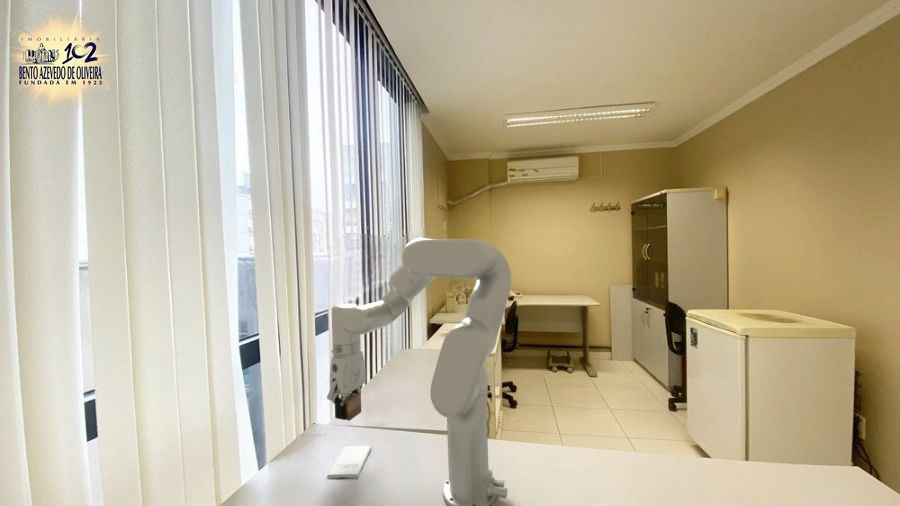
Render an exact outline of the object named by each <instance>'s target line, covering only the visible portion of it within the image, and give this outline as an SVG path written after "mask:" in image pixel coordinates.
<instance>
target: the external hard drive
mask: <svg viewBox="0 0 900 506" xmlns="http://www.w3.org/2000/svg"><path fill="white" fill-rule="evenodd" d="M371 450H372V446H371V445H347V446H343V448H342V450H341V452H340V453H339V455H338V457H337V458H336V460H335V462H334V463H333V465H332V467H331V468H330V470H329V471H328V473H327V476H326V479H340V478H345V479H350V478H354V479H355V478H357V479H358V478H359V476H360V475H361V472H362V470H363V468H364V466H365V463H366V461H367V459H368V457H369V455H370V454H371Z"/></svg>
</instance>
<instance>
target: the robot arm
mask: <svg viewBox="0 0 900 506" xmlns="http://www.w3.org/2000/svg"><path fill="white" fill-rule="evenodd" d="M401 261H402V264H400V265H399V266H398V267H397V268H396V269H395V270H394V271H393V272H392V273H391V274H390V276H389V282H390V286H391V287H392V288H391V289H390V290H389V291H388V292H386V294H384V296H383V297H382V298H380V299H379V300H378V301H374V302H370V303H366V304H362V305H358V304H356V303H340V304H336V305H334V306H333V307H332V309H331V328H332V329H331V335H332V336H331V339H332V343H331V344H332V350H331V354H332V356H331V360H330V367H329V369H330V370H329V392H328V394H327V395H326V399H327V400H328V401H330V402H332V403H333V404H334V406H335V405H336V419H338V420H343V421H346V420H345V419H346V418H347V415H346V404H345V398H346V395H347V394H348V393H355V394H361V395H362V388H363V385H364V384H365V383H366V380H367V379H366V378H367V376H366V366H365V363H366V362H365V357H364V352H363V350H362V349H361V348H362V347H361V344H362V343H361V335H367V334H370V333H373V332H375V331H377V330H380V329H383V328H386V327H387V326H389V325H390V324H392V323H393V322H394V321H395V320H396V319H397V318H399V317H400V316H401V315H402V314H403V313H404V312H405V311H406V310H407V309H408V308H409V307H410V305H411V303H412V302H413V301H414V298H415V297H417V296H418V295H419V294H420V292H423V290H424V289H425V288H426V287H427V286H428V285H429V284H430V283H432V282H433V281H434V280H436V278H445V279H447V278H449V279H460V280H467V279H470V280H471V279H475V285H474V287H473V290H472V292H471V294H470V297H469V302H468V305H467V309H466V312H465V313H464V317H463V319H462V321H460V322H459V323H458V324H455V325H454V326H453V327H452V328H451V329H450V330H449V331H448V333H447V334H446V336H445V337H444V340H443V342H442V346H441V348H440V352H439V354H438V355H439V356H438V359H437V361H436V365H435V368H434V373H433V377H432V380H431V384H430V389H429V390H430V391H429V392H430V393H429V394H430V395H429V396H430V399H431V403H432V406H433V408H434V409H435V410H436V412H438V414H439V415H441V416H443V417H444V418H446V427H447V428H446V430H447V431H446V433H447V435H446V437H447V459H448V461H447V462H448V478H447V479H446V480H445V482H444V484H443V485H442V486H443V487H442V495H443V499H444V502H445V503H446V505H448V506H492V505H493V504H494V502H495V500H496V497H498V498H502V499H504V500H505V499H507V498H508V488H507V487H505V481H504V480H500V479H499V480H498V479H496V478H495V477H493V476H494V475H493V470H492V469H490V467H489V445H488V442H489V441H488V418H487V417H488V414H487V413H488V409H487V407H488V406H487V403H488V402H487V401H488V390H489V389H488V387H489V386H488V385H489V383H488V382H489V379H488V374H487V370H486V368H485V365H484V364H485V361H486V360H487V359H488V357H489V356H491V354H492V352H493V351H494V349H495V347H496V343H497V340H498V337H499V333H500V329H501V326H502V321H503V318H504V315H505V310H506V307H507V303H508V299H509V295H510V292H511V286H512V271H511V268H510V267H511V266H510V263H509V262H508V260H507V258H506V257H505V255H504V254H503V253H502V252H501V250H499V249H498V248H497V247H496V246H495V245H493V244H492V243H490V242H487V241H485V240H484V241H483V240H476V239H468V238H466V239H465V238H427V237H426V238H425V237H419V238H415V239H413V240H411V241H410V242H408V243H407V244H406V246H405V247H404V249H403V251H402V255H401ZM339 396H341V399H340V398H339Z"/></svg>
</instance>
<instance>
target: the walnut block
mask: <svg viewBox="0 0 900 506" xmlns="http://www.w3.org/2000/svg"><path fill="white" fill-rule="evenodd" d="M339 398H340V399H341V395H339ZM345 404H346V415H347V418H346V419H345V420H344V421H351V420H353V419H354V418H355V417H356V416H358V415H360V414H361V413H362V393H361V394H355V393H351V392H350V393H348V394H347V395H346V398H345ZM334 418H336V405H335V404H334ZM336 419H337V418H336Z"/></svg>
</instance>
